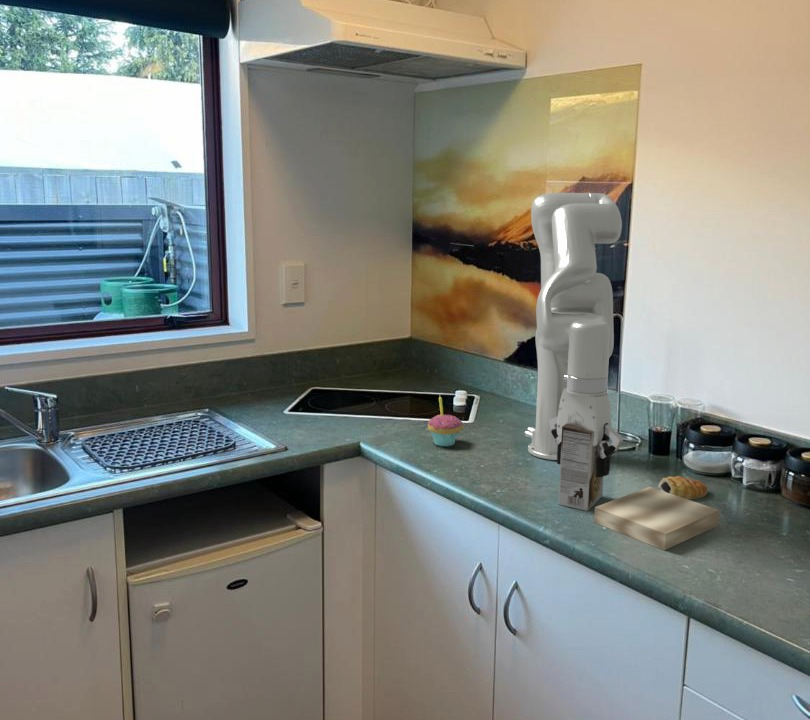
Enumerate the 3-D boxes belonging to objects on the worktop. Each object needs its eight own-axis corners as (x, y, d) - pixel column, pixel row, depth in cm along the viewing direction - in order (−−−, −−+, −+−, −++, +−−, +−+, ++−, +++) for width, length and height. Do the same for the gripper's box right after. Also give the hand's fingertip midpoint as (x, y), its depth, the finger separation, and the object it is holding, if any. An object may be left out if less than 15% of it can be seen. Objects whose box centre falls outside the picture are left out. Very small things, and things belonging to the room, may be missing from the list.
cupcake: (420, 443, 194) (420, 395, 192) (443, 435, 200) (444, 389, 198) (446, 451, 188) (446, 402, 186) (469, 443, 194) (470, 395, 192)
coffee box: (572, 490, 164) (576, 414, 161) (603, 496, 161) (607, 419, 158) (556, 504, 157) (560, 425, 153) (588, 511, 153) (593, 431, 150)
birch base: (593, 522, 148) (594, 507, 148) (648, 500, 159) (649, 486, 158) (664, 550, 137) (665, 534, 136) (718, 525, 147) (719, 510, 147)
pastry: (695, 487, 167) (696, 470, 166) (714, 499, 161) (716, 481, 160) (654, 490, 165) (656, 473, 164) (672, 503, 158) (674, 485, 158)
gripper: (539, 379, 158) (536, 462, 161) (611, 395, 145) (606, 485, 148) (564, 374, 163) (561, 455, 166) (636, 390, 149) (631, 477, 153)
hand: (582, 469), depth 157 cm, fingers open, 9 cm apart
